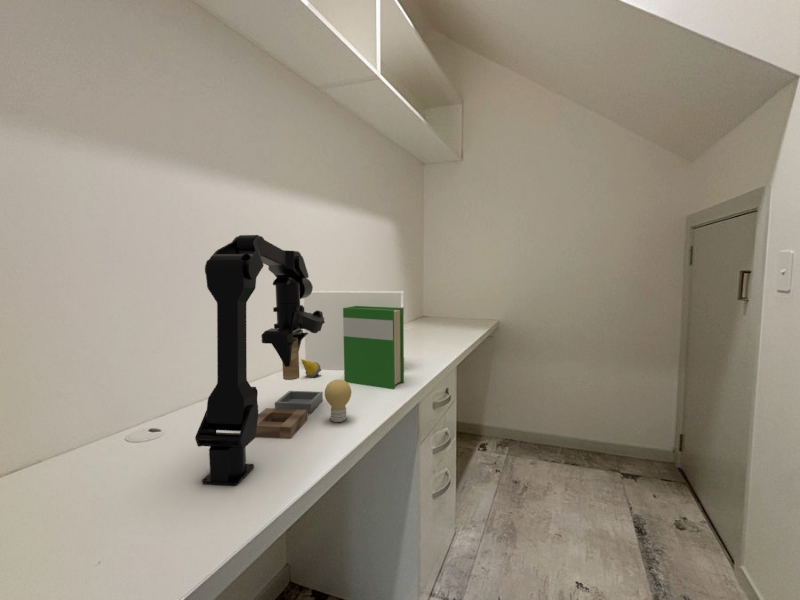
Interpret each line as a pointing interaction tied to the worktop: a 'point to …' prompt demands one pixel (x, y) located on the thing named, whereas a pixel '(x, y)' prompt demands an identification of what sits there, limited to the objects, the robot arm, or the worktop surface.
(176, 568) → the worktop surface
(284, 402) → the tray
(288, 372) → the dowel
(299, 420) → the square wooden frame
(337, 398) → the light bulb
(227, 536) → the worktop surface
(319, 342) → the white flat rectangular panel
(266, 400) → the worktop surface
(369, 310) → the hardback book
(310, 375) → the ice cream cone
